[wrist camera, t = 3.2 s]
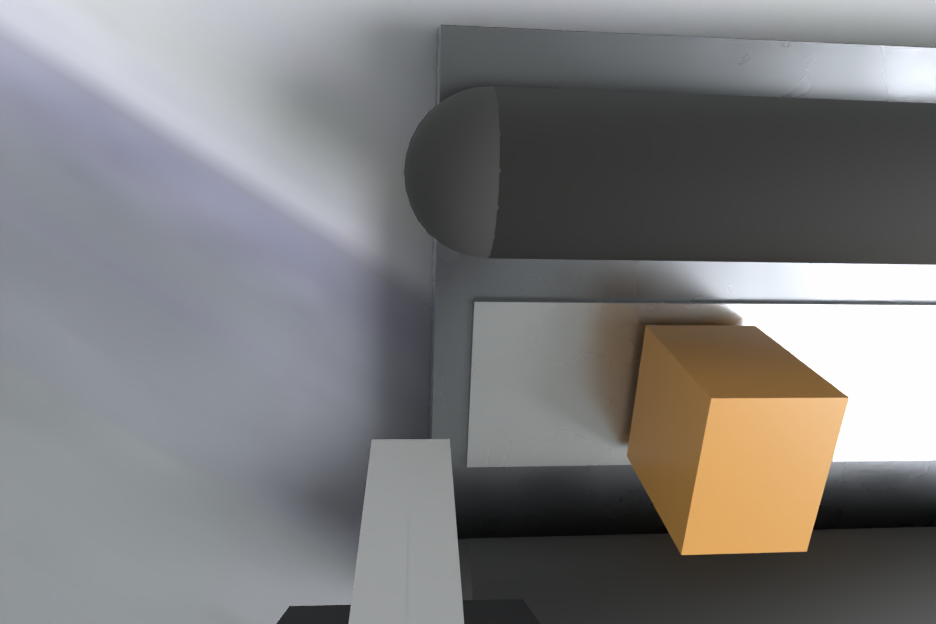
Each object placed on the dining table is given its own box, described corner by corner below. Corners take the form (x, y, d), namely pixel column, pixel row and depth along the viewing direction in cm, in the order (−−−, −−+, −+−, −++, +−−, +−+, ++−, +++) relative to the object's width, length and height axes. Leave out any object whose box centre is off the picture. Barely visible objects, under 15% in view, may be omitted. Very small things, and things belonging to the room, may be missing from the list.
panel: (426, 589, 23) (427, 641, 21) (437, 29, 16) (442, 24, 14) (1101, 567, 25) (1162, 612, 23) (1339, 70, 19) (1453, 71, 17)
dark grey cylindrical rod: (402, 608, 21) (401, 715, 17) (403, 513, 19) (401, 609, 16) (1191, 580, 23) (1324, 669, 20) (1237, 495, 22) (1388, 574, 18)
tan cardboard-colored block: (626, 456, 19) (680, 555, 15) (645, 325, 17) (711, 398, 13) (728, 454, 19) (806, 551, 15) (755, 325, 17) (849, 397, 14)
